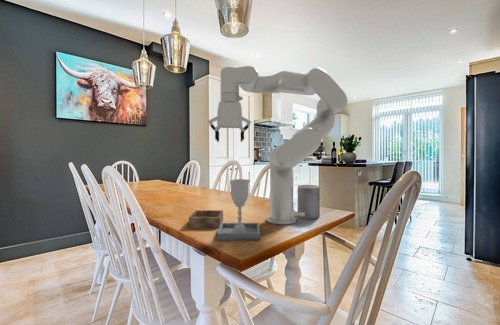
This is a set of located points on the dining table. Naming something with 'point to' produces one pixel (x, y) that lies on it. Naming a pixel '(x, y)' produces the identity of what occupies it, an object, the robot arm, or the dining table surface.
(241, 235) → the tray
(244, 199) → the chalice
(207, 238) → the dining table surface
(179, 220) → the dining table surface
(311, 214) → the pillar candle
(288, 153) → the robot arm
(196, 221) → the brown square frame
